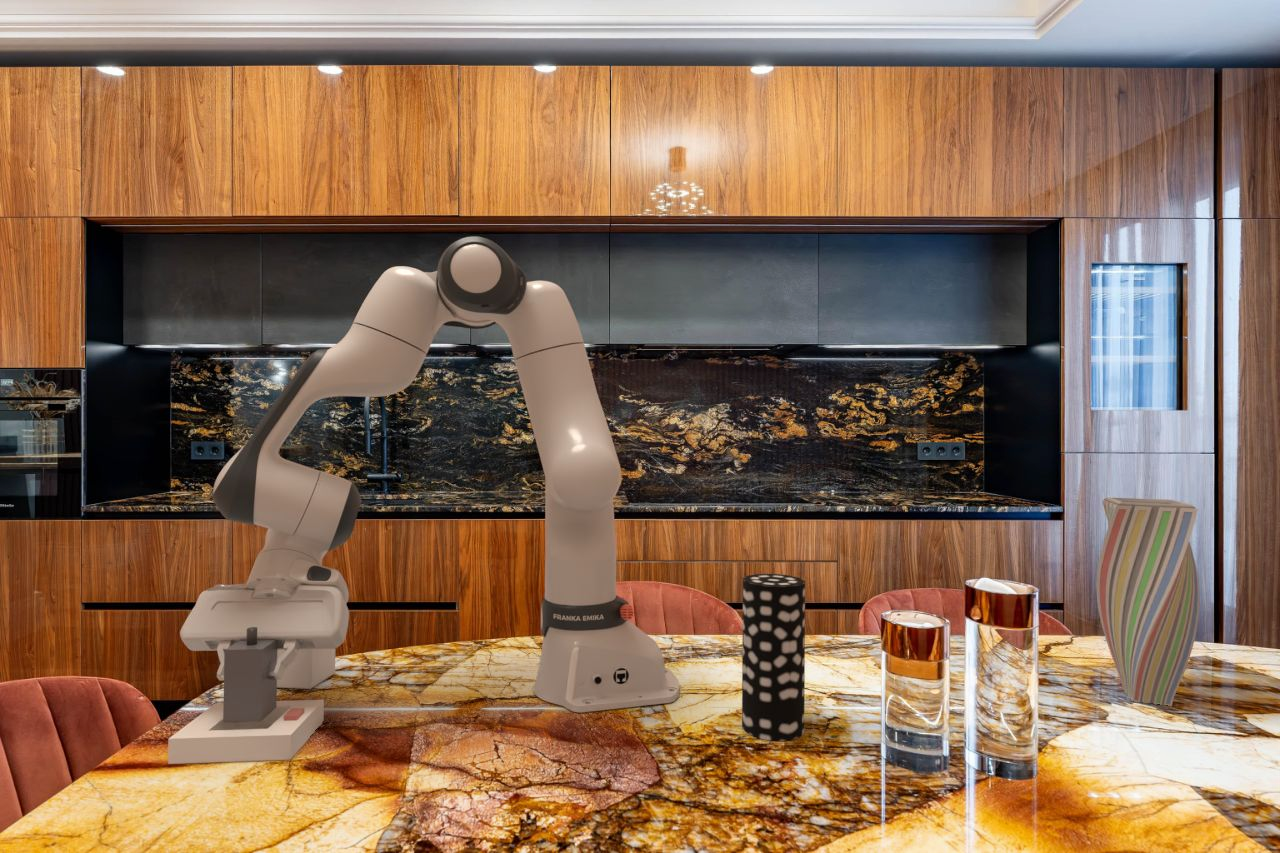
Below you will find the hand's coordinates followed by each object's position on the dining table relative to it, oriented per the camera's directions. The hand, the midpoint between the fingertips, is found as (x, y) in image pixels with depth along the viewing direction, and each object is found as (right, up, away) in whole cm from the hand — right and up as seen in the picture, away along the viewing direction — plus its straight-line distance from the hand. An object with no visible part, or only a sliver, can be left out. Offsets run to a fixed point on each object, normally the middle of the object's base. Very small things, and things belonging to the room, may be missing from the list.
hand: (248, 678), depth 88 cm
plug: (0, -5, +1) cm, 5 cm away
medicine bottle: (-4, -9, +22) cm, 24 cm away
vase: (+127, -10, +17) cm, 129 cm away
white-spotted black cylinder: (+68, -9, +6) cm, 69 cm away
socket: (0, -8, +1) cm, 8 cm away
